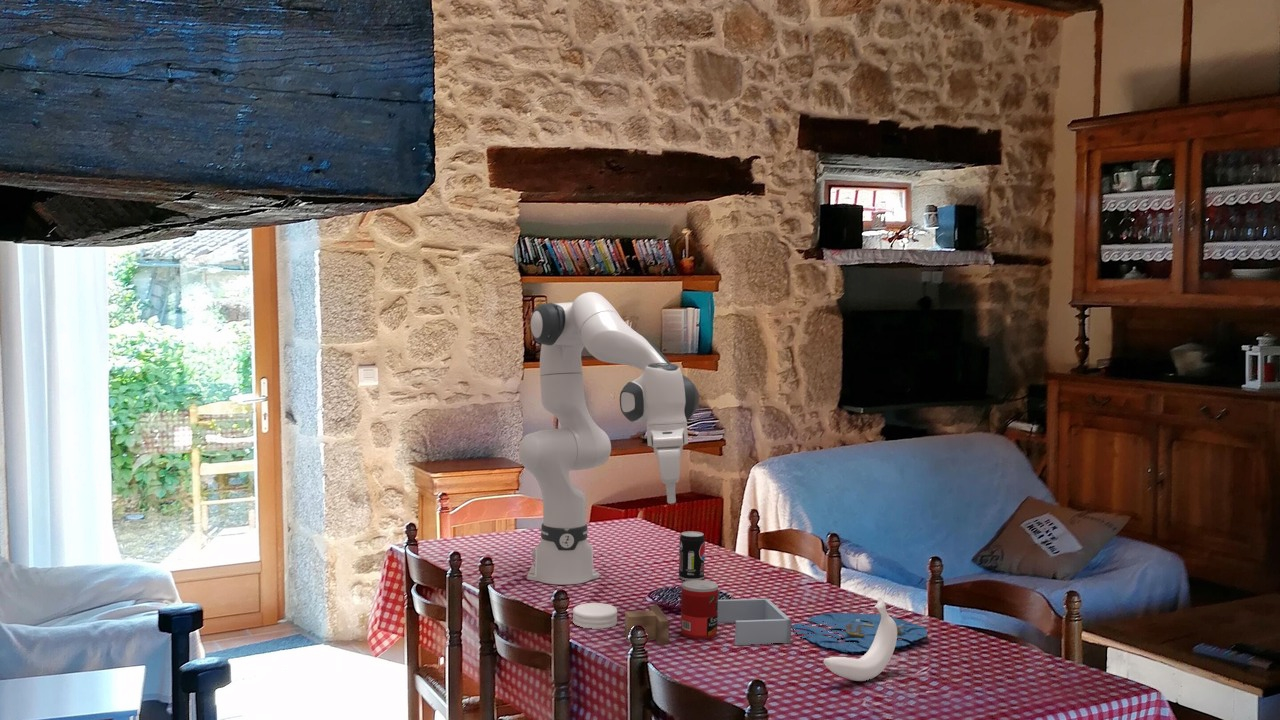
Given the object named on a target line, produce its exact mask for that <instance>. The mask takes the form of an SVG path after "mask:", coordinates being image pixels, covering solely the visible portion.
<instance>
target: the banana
mask: <svg viewBox="0 0 1280 720" xmlns="http://www.w3.org/2000/svg"><path fill="white" fill-rule="evenodd" d="M874 608H875V609H877V610H878V612H879V614H880V615H881V621H880V624H879V627H878V630H877V633H876V636H875V638H874V641H873V643H872V645H871V647H870V649H869V650H868V651H865V652H866V653H864V655H862V656H861V657H859V658H852V657H844V656H833V657H826V658H824V659H823V664H824V665H825V667H826V668H827V669H828V670H830V672H832V673H833V674H835V675H836V676H839V677H841V678H845V679H847V680H851V681H856V682H865V681H866V680H867V681H870V680H872V679H874V678H875V677H877V676H879V675H880V674H881V673H882V672H883V671H884V670H885V668H886V667H887V665H888V663H889V662H890V660H891V658H892V656H893V654H894V651H895V645H896V641H897V626H896V623H895V622H894V620H893V619H892V618H891V617H892V616H890V615H889V613H888V612H887V609H886V602H885V600H884V599H883V597H882V596H878V597H877V603H876V604H875V605H874ZM869 679H870V680H869Z"/></svg>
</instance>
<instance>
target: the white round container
mask: <svg viewBox="0 0 1280 720" xmlns="http://www.w3.org/2000/svg"><path fill="white" fill-rule="evenodd" d="M572 612H573V615H572V617H573V618H572V622H573V623H574V624H575V625H577V626H580V627H583V628H582V629H585V628H592V629H591V630H604V629H603V628H607V629H611V628H613V627H615V626H616V625H617V624H618V609H617V608H616V606H614V605H612V604H607V603H603V602H601V603H600V602H587V603H580V604H578V605H576V606H575V607H573V609H572ZM573 623H572V624H573ZM574 624H573V625H574ZM575 625H574V626H575ZM577 626H576V627H577ZM580 627H579V628H580ZM610 627H611V628H610ZM600 628H601V629H600Z"/></svg>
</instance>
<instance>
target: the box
mask: <svg viewBox="0 0 1280 720" xmlns="http://www.w3.org/2000/svg"><path fill="white" fill-rule="evenodd" d="M725 623H726V624H727V623H728V624H730V623H733V624H734V623H735V630H734V645H735V646H752V645H751V644H762V645H774V644H773V643H788V644H792V619H791V618H790V617H789V616H787V615H786V614H785V613H784V612H783V611H782V610H781V609H780V608H779V607H778V606H777V605H776V604H775V603H773V602H772V601H771V600H770V599H769V598H742V599H741V598H740V599H738V598H737V599H731V598H730V599H718V623H717V624H725ZM767 643H768V644H767ZM771 643H772V644H771Z"/></svg>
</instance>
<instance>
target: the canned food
mask: <svg viewBox="0 0 1280 720" xmlns="http://www.w3.org/2000/svg"><path fill="white" fill-rule="evenodd" d="M718 600H719V585H718V584H717V583H716V582H713V581H711V580H705V579H704V580H703V579H702V580H690V581H683V582H682V584H681V601H680V602H681V603H680V604H681V605H680V606H681V608H680V609H681V610H680V631H681V635H682V636H683V637H686V638H688V639H693V640H709V639H710V640H711V639H713V638H715V637H716V636H717V633H718V624H719V623H718Z"/></svg>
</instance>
